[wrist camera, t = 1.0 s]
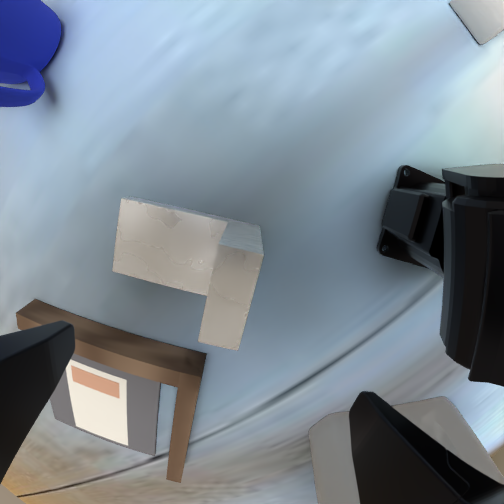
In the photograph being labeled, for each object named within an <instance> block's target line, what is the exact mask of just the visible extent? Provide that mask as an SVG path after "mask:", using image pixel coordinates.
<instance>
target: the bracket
mask: <svg viewBox="0 0 504 504" xmlns="http://www.w3.org/2000/svg"><path fill="white" fill-rule="evenodd" d="M263 257H264V251H263V245H262V238H261V231H260V226H259V225H255V224H251V223H247V222H242V221H238V220H234V219H230V218H226V217H221V216H217V215H213V214H208V213H204V212H200V211H195V210H191V209H187V208H182V207H178V206H173V205H169V204H164V203H160V202H155V201H151V200H146V199H141V198H137V197H132V196H129V197H125V198H121V204H120V211H119V218H118V225H117V233H116V241H115V250H114V260H113V271H114V272H117V273H121V274H124V275H128V276H131V277H135V278H139V279H142V280H146V281H150V282H153V283H157V284H161V285H165V286H169V287H173V288H176V289H180V290H184V291H188V292H192V293H196V294H201V295H205V296H207V299H206V303H205V308H204V313H203V318H202V323H201V328H200V333H199V338H198V342H201V343H205V344H209V345H214V346H218V347H223V348H227V349H232V350H236V351H238V349H239V345H240V342H241V338H242V334H243V331H244V327H245V323H246V320H247V316H248V313H249V309H250V305H251V301H252V298H253V294H254V290H255V287H256V283H257V279H258V276H259V272H260V268H261V264H262V261H263Z"/></svg>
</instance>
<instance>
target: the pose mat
mask: <svg viewBox="0 0 504 504" xmlns="http://www.w3.org/2000/svg"><path fill="white" fill-rule="evenodd" d="M160 387H161V383H160V382H156V381H153V380H149V379H146V378H142V377H139V376H136V375H133V374H130V373H126V372H123V371H120V370H117V369H114V368H112V367H109V366H106V365H103V364H100V363H97V362H95V361H92V360H89V359H87V358H84V357H82V356H79V355H76V354H73V356H72V358H71V359H70V361H69V363H68V365H67V367H66V369H65V371H64V373H63V375H62V377H61V379H60V381H59V383H58V385H57V387H56V389H55V390H54V392H53V394H52V395H51V397H50V401H51V405H52V409H53V413H54V417H55V419H57V420H59V421H61V422H63V423H65V424H68V425H70V426H72V427H74V428H77V429H79V430H81V431H84V432H86V433H89V434H91V435H93V436H96V437H99V438H101V439H104V440H106V441H109V442H112V443H115V444H118V445H120V446H123V447H126V448H129V449H133V450H136V451H139V452H142V453H146V454H149V455H152V456H155V451H156V435H157V421H158V408H159V397H160Z"/></svg>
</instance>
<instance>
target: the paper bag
mask: <svg viewBox="0 0 504 504" xmlns="http://www.w3.org/2000/svg"><path fill="white" fill-rule="evenodd" d="M392 407H393V408H394V409H396V410H397V411H398V412H399V413H401V414H402V415H403V416H405V417H406V418H407V419H408V420H410V421H411V422H412V423H414V424H415V425H416V426H417V427H419V428H420V429H421V430H423V431H424V432H425V433H427V434H428V435H429V436H430V437H432V438H433V439H434V440H436V441H437V442H438V443H440V444H441V445H442V446H444V447H445V448H446V450H447V449H448V450H449V451H451V452H452V453H453V454H455V455H456V456H457V457H459V458H460V459H462V460H463V461H464V462H466V463H467V464H469V465H471V466H472V467H474V468H475V469H477V470H479V471H480V472H482V473H484V474H485V475H487V476H489V477H490V478H492V479H494V480H496V481H497V482H499V483H501V484H504V477H503V476H502V474H501V473H500V471H499V470H498V468H497V466H496V465H495V463H494V462H493V460H492V459H491V457H490V456H489V454H488V453H487V451H486V450H485V448H484V447H483V445H482V444H481V442H480V441H479V439H478V438H477V436H476V435H475V433H474V432H473V430H472V429H471V428H470V426H469V425H468V423H467V422H466V421H465V419H464V418H463V416H462V415H461V414H460V412H459V411H458V409H457V408H456V407H455V405H454V404H452V403H451V402H450V401H449V400H448V399H447V398H446V397H443V396H441V397H436V398H431V399H427V400H422V401H417V402H411V403H406V404H400V405H394V406H392ZM309 440H310V448H311V456H312V464H313V472H314V480H315V488H316V494H317V499H318V504H360V500H359V494H358V488H357V482H356V476H355V470H354V465H353V459H352V451H351V438H350V425H349V411H348V412H337V413H332V414H330V415H328V416H326V417H324V418H323V419H322V420H320V421H319V422H318V423H316V424H315V425H313V426H312V427H311V428H310V430H309Z"/></svg>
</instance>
